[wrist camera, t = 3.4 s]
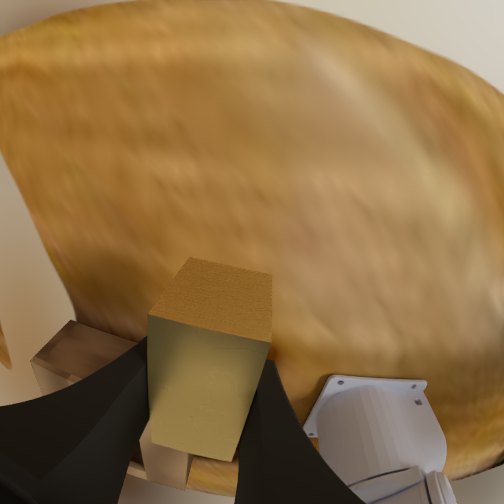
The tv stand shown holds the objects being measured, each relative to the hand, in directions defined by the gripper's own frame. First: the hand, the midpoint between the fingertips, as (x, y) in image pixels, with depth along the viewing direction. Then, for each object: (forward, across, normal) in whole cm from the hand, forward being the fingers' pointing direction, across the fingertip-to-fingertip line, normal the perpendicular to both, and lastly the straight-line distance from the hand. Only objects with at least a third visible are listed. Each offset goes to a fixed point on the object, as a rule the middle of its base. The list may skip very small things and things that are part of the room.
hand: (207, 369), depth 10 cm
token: (+2, 0, 0) cm, 2 cm away
